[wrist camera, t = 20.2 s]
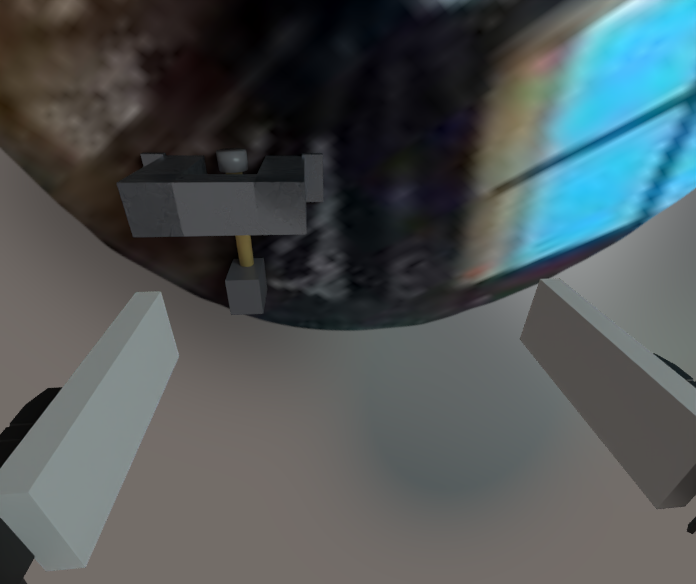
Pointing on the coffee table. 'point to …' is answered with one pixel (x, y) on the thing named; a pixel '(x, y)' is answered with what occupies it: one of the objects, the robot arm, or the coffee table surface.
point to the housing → (220, 197)
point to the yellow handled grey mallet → (243, 253)
